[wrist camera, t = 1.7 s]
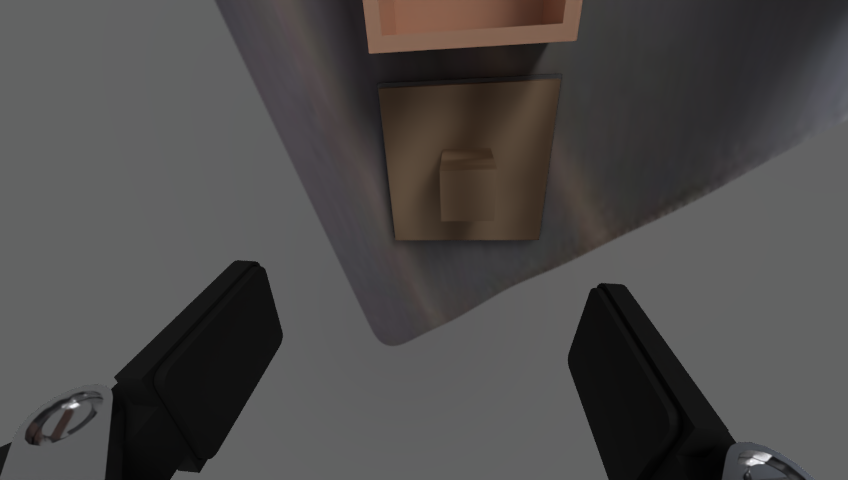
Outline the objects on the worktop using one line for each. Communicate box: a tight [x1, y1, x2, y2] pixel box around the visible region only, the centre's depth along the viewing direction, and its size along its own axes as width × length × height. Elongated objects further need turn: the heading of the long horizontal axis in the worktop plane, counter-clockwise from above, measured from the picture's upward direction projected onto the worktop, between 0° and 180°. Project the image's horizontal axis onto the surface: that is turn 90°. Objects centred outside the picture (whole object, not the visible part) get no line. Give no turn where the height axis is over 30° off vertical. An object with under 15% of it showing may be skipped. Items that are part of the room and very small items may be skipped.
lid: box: [379, 78, 561, 240], centre depth 24 cm, size 12×12×6 cm
